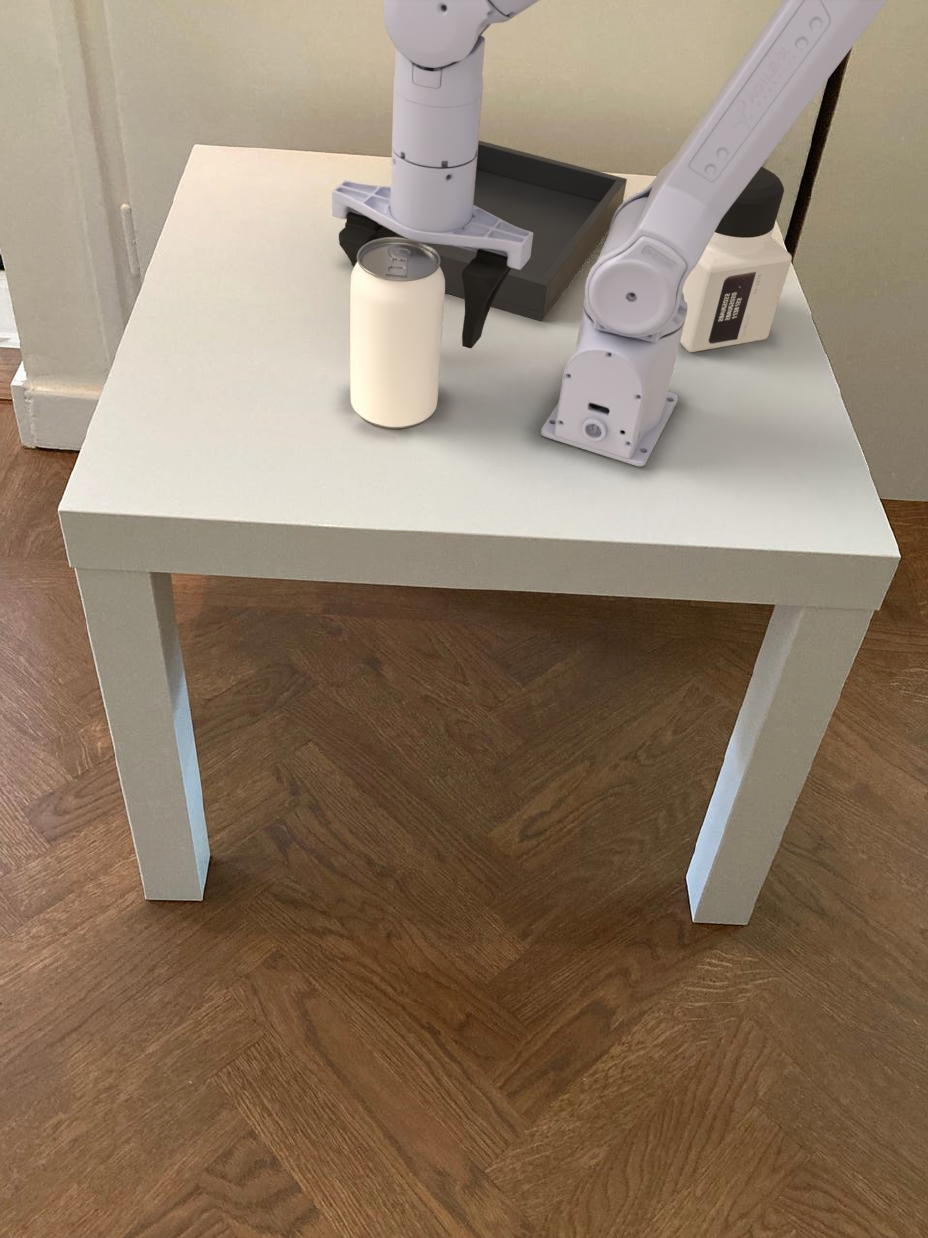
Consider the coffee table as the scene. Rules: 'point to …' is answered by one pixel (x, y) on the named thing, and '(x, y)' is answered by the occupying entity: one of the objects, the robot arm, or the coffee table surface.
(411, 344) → the can
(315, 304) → the coffee table surface
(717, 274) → the container
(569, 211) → the tray
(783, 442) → the coffee table surface
